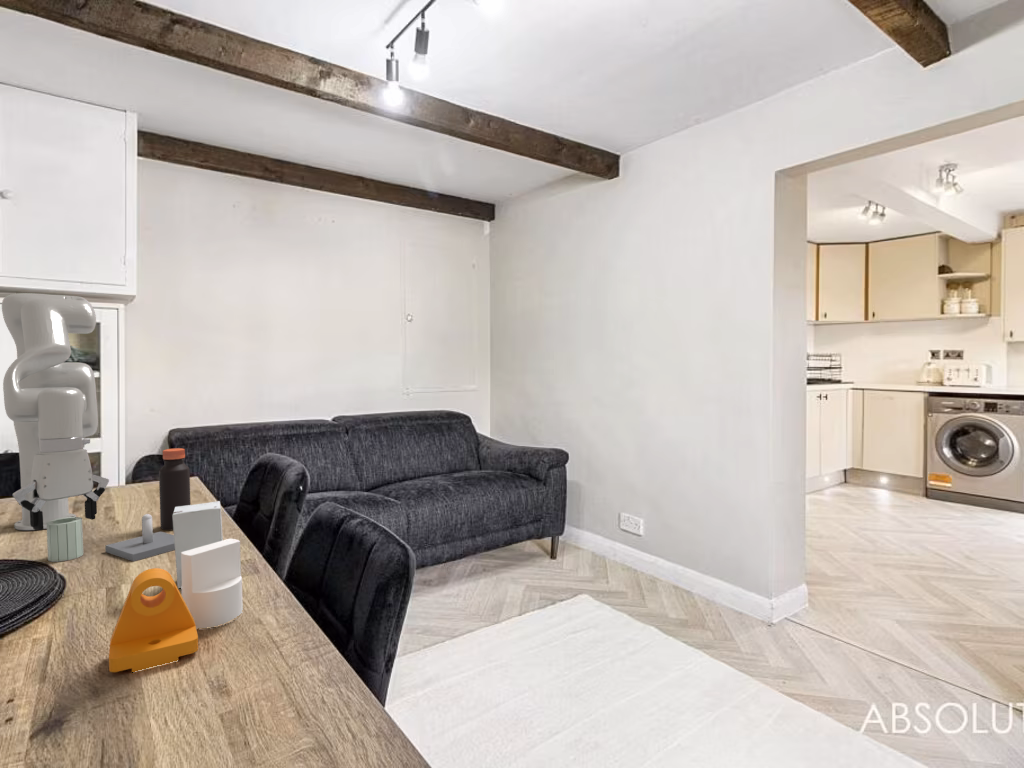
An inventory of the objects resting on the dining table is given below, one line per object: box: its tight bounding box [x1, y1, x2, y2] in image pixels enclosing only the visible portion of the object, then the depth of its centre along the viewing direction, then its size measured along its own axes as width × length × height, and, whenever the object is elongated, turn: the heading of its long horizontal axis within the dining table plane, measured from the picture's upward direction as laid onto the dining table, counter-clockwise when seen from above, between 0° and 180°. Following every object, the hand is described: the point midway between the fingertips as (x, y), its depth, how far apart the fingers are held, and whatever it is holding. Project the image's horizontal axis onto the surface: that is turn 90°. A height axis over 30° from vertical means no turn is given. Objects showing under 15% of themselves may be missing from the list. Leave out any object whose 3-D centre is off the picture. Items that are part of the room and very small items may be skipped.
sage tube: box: [46, 516, 84, 563], centre depth 127 cm, size 6×6×8 cm
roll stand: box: [104, 513, 175, 562], centre depth 132 cm, size 12×12×8 cm
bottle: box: [158, 447, 192, 531], centre depth 149 cm, size 7×7×20 cm
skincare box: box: [172, 500, 224, 590], centre depth 112 cm, size 8×6×15 cm
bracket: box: [108, 567, 199, 673], centre depth 84 cm, size 11×7×12 cm, turn 123°
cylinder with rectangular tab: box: [180, 538, 244, 628], centre depth 97 cm, size 9×9×12 cm
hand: (65, 523), depth 126 cm, fingers open, 9 cm apart
